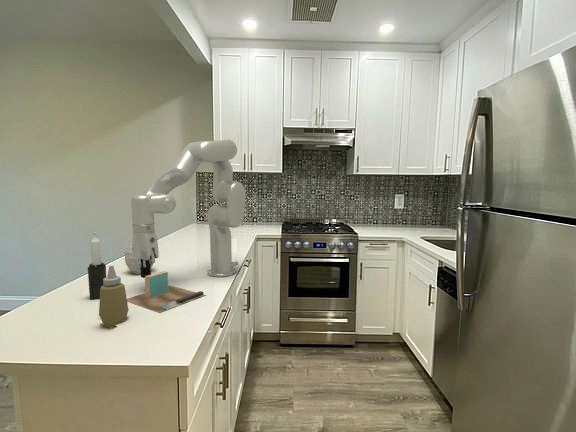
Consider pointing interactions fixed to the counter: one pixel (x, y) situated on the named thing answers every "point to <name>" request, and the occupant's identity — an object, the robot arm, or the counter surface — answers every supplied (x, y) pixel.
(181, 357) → the counter surface
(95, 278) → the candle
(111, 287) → the squeeze bottle
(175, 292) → the board
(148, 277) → the tile
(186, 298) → the turner
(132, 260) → the vase
